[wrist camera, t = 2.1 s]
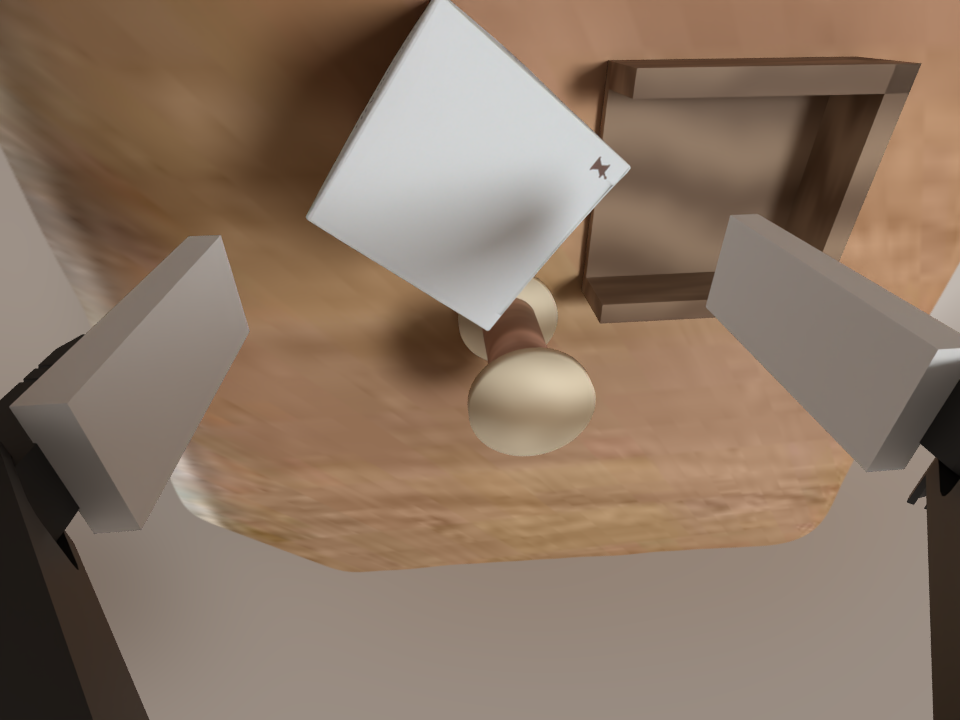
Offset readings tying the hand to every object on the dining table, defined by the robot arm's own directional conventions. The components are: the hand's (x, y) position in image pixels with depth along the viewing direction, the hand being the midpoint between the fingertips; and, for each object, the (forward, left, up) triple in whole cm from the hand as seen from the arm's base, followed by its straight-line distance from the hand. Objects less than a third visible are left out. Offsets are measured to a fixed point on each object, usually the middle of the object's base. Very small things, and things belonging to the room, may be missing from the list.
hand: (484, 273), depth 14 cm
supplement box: (0, 0, -24) cm, 24 cm away
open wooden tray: (+5, +18, -24) cm, 30 cm away
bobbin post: (+15, +4, -24) cm, 28 cm away
